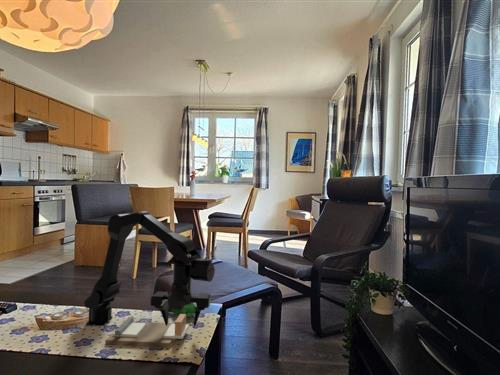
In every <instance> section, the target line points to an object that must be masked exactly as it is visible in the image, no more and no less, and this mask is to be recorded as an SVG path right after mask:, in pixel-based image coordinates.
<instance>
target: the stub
mask: <svg viewBox="0 0 500 375" xmlns="http://www.w3.org/2000/svg"><path fill="white" fill-rule="evenodd" d="M174 323H175V324H171V325H170V327H169V328H168V330H167V331H166V333H165V334H164V338H171V339H175V340H183V339H184V338H185V335H186V333H187V331H188V329H189V326H190V325H189V324H187V317H186V314H180V315H179V317H178V316H177V318H176V319H175V321H174Z"/></svg>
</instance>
